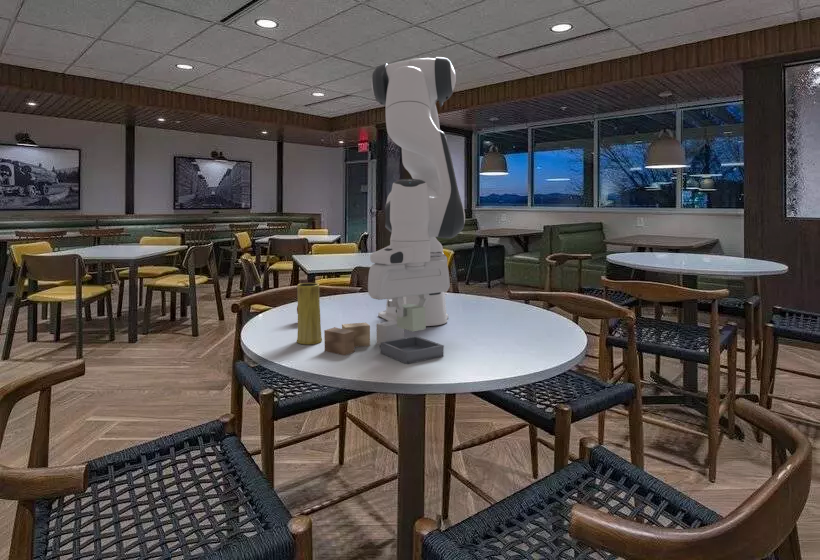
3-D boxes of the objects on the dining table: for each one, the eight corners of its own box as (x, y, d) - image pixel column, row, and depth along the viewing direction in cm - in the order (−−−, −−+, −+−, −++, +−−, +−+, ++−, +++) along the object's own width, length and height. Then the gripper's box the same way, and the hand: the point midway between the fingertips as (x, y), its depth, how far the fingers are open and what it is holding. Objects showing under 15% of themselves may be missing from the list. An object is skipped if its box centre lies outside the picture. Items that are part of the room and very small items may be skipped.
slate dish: (380, 352, 118) (380, 342, 118) (416, 346, 124) (416, 336, 124) (406, 364, 110) (406, 352, 110) (443, 356, 116) (443, 345, 116)
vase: (310, 346, 124) (308, 287, 122) (291, 342, 127) (289, 284, 125) (326, 340, 129) (326, 283, 127) (308, 337, 132) (307, 281, 130)
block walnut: (324, 351, 120) (324, 330, 119) (334, 348, 123) (334, 327, 122) (344, 355, 116) (344, 334, 116) (354, 352, 119) (354, 331, 119)
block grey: (386, 346, 124) (386, 326, 124) (376, 343, 127) (376, 323, 126) (403, 341, 129) (404, 322, 128) (394, 339, 131) (394, 320, 130)
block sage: (397, 327, 118) (396, 305, 117) (409, 324, 120) (409, 303, 119) (413, 331, 113) (412, 308, 112) (425, 329, 115) (425, 306, 114)
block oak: (345, 348, 123) (345, 327, 122) (342, 344, 126) (341, 324, 125) (369, 345, 125) (370, 325, 124) (365, 342, 128) (365, 322, 127)
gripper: (438, 250, 123) (438, 307, 124) (363, 255, 111) (364, 318, 113) (455, 251, 118) (455, 311, 119) (379, 257, 106) (380, 323, 107)
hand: (410, 315), depth 116 cm, fingers closed on block sage, 3 cm apart
